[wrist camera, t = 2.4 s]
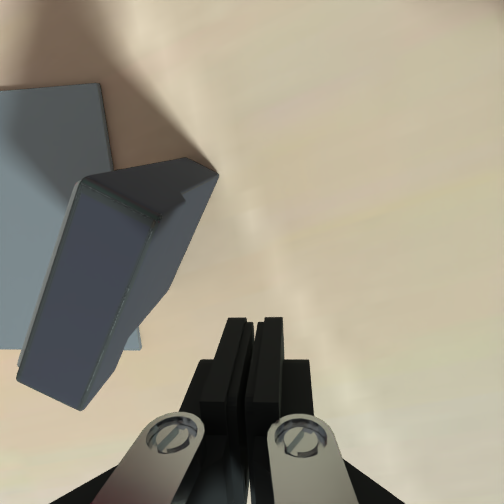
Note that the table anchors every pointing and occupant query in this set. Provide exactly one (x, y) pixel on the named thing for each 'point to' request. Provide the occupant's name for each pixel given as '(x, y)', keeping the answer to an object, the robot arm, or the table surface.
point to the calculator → (109, 272)
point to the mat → (42, 188)
